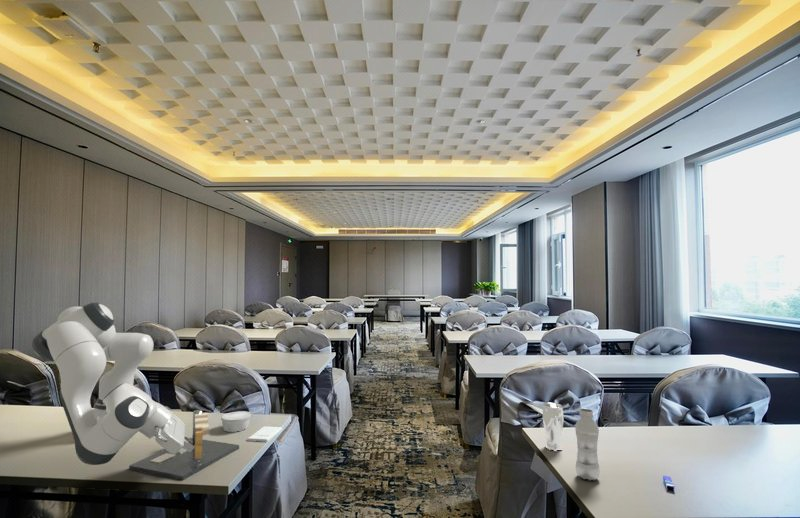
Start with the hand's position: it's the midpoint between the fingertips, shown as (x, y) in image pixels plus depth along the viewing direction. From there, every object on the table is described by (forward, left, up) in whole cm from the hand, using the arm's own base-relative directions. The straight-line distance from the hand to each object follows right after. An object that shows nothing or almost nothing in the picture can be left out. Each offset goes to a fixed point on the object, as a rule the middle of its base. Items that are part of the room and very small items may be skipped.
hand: (192, 448), depth 127 cm
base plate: (-8, +6, -6) cm, 12 cm away
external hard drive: (+4, +31, -7) cm, 32 cm away
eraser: (+140, +34, -7) cm, 144 cm away
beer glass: (+110, +53, -7) cm, 122 cm away
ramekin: (-12, +34, -7) cm, 36 cm away
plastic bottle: (+118, +33, -7) cm, 123 cm away
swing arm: (-4, +8, -3) cm, 9 cm away
